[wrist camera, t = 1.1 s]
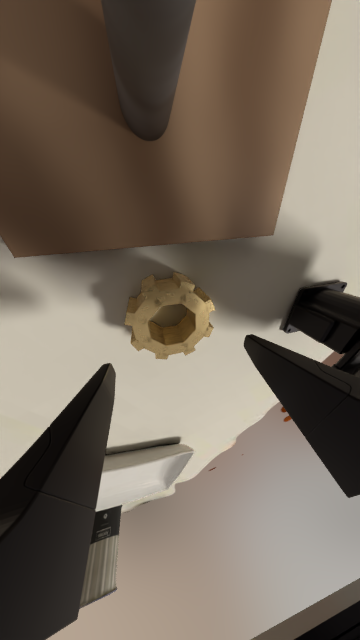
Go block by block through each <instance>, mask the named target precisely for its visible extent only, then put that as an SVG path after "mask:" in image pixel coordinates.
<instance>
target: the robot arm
mask: <svg viewBox="0 0 360 640" xmlns="http://www.w3.org/2000/svg"><path fill="white" fill-rule="evenodd" d="M346 286H347V283H346V282H336V283H329V284H323V285H317V286H310V287H304V288H302V289H301V290H300V291H299V293H298V296H297V298H296V301H295V303H294V305H293V308H292V310H291V313H290V315H289V318H288V320H287V323H286V325H285V327H284V330H283V331H284V332H285V333H292V332H297V331H301V332H303V333H304V334H306V335H308V336H309V337H311V338H313V339H314V340H316V341H317V342H319V343H322V344H324V345H326V346H327V347H329V348H331V349H332V350H334V351H335V352H337V353H339V354H344V356H343V357H342V358H341V359H340V360H339V361H338V362H337V363H336V364H334V365H333V366H332V367H330V366H327V365H325V364H323V363H320V362H318V361H316V360H313V359H311V358H308V357H306V356H303V355H301V354H299V353H296V352H294V351H291V350H289V349H286V348H284V347H282V346H279V345H277V344H274V343H272V342H270V341H267V340H265V339H262V338H260V337H257V336H255V335H253V334H250V335H246V337H245V341H244V348H245V349H246V351H247V353H248V355H249V357H250V358H251V360H252V362H253V364H254V365H255V367H256V368H257V370H258V371H259V373H260V374H261V375H262V377H263V378H264V380H265V381H266V383H267V384H268V385H269V387H270V388H271V390H272V391H273V392H274V394H275V395H276V397H277V398H278V400H279V401H280V402H281V404H282V405H283V407H284V408H285V409H286V411H287V412H288V414H289V415H290V417H291V418H292V419H293V421H294V422H295V424H296V425H297V426H298V428H299V429H300V431H301V432H302V434H303V435H304V436H305V438H306V439H307V441H308V442H309V443H310V445H311V447H312V448H313V449H314V451H315V452H316V453H317V455H318V456H319V458H320V459H321V461H322V462H323V464H324V465H325V466H326V468H327V469H328V471H329V472H330V473H331V475H332V476H333V478H334V479H335V481H336V482H337V483H338V485H339V486H340V488H341V489H342V490H343V492H344V493H345V494H346V496H347V497H348V498H350V497H353V496H357V495H360V297H357V296H353V295H350V294H346V293H343V291H344V289H345V287H346ZM115 378H116V374H115V370H114V368H113V366H112V364H111V363H107V364H103V365H102V366H101V367H100V369H99V370H98V371H97V372H96V373H95V374H94V375H93V377H92V378H91V379H90V380H89V381H88V382H87V383H86V385H85V386H84V387H83V388H82V389H81V390H80V391H79V393H78V394H77V395H76V396H75V397H74V398H73V399H72V401H71V402H70V403H69V404H68V405H67V406H66V407H65V409H64V410H63V411H62V412H61V413H60V414H59V415H58V417H57V418H56V419H55V420H54V421H53V422H52V423H51V425H50V427H48V428H47V429H46V430H45V431H44V433H43V434H42V435H41V436H40V437H39V438H38V439H37V440H36V442H35V443H34V444H33V445H32V446H31V447H30V448H29V449H28V450H27V452H26V453H25V454H24V455H23V456H22V457H21V458H20V459H19V460H18V461H17V462H16V463H15V464H14V465H13V466H12V467H11V468H10V469H9V470H8V471H7V473H6V474H5V475H4V476H3V477H2V478H1V479H0V640H46V639H47V638H49V637H50V636H52V635H54V634H55V633H57V632H58V631H60V630H61V629H63V628H64V627H66V626H68V625H69V624H71V623H72V622H74V621H75V620H77V617H78V612H79V607H80V601H81V595H82V590H83V584H84V578H85V572H86V566H87V560H88V554H89V548H90V542H91V536H92V530H93V524H94V518H95V512H96V510H95V509H96V506H97V500H98V494H99V488H100V482H101V476H102V470H103V464H104V458H105V452H106V447H107V441H108V435H109V429H110V423H111V417H112V411H113V405H114V396H115ZM251 640H360V578H359V579H357V580H356V581H354V582H352V583H350V584H349V585H347V586H345V587H343V588H342V589H340V590H338V591H336V592H334V593H333V594H331V595H329V596H327V597H326V598H324V599H322V600H320V601H319V602H317V603H315V604H313V605H311V606H310V607H308V608H306V609H304V610H302V611H301V612H299V613H297V614H295V615H293V616H292V617H290V618H288V619H286V620H285V621H283V622H281V623H279V624H277V625H276V626H274V627H272V628H271V629H269V630H267V631H265V632H263V633H261V634H260V635H258V636H257V637H254V638H253V639H251Z"/></svg>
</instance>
